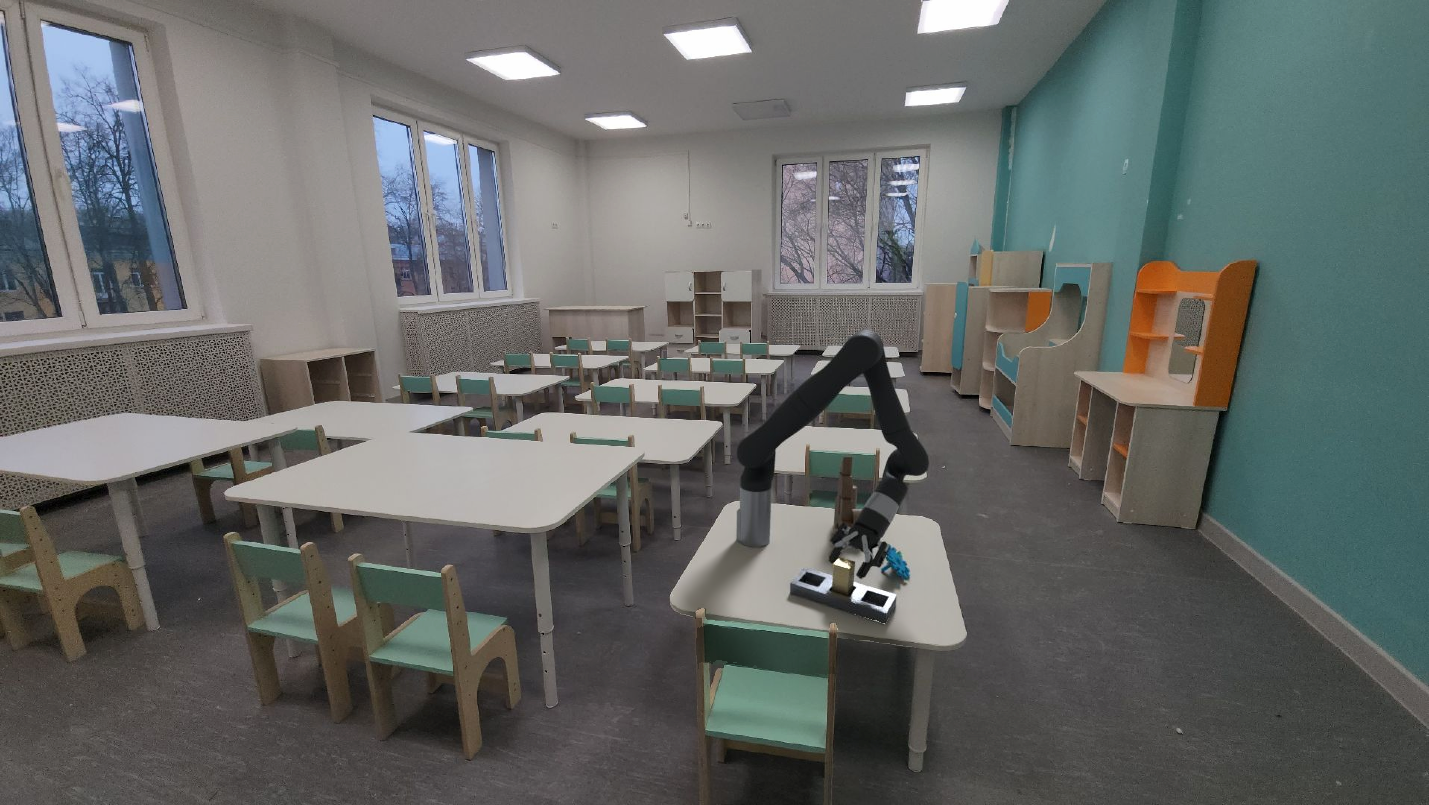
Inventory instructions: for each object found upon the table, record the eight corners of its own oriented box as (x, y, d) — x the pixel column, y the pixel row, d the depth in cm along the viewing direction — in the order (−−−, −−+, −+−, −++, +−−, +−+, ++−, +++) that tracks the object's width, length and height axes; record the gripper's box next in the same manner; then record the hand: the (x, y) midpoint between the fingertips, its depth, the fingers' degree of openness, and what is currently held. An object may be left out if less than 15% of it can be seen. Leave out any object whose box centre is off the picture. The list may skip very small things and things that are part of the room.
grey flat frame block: (789, 593, 145) (790, 582, 144) (804, 577, 152) (804, 567, 152) (885, 624, 133) (886, 613, 132) (895, 605, 140) (896, 594, 139)
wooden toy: (864, 545, 170) (870, 465, 164) (841, 544, 170) (846, 464, 165) (853, 522, 185) (858, 448, 179) (832, 521, 185) (837, 447, 180)
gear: (908, 581, 148) (883, 548, 150) (890, 593, 150) (865, 560, 152) (915, 568, 157) (892, 537, 160) (898, 578, 160) (875, 548, 162)
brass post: (831, 600, 142) (833, 563, 140) (837, 593, 145) (839, 557, 143) (846, 605, 140) (849, 568, 138) (852, 598, 143) (855, 561, 141)
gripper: (848, 498, 148) (816, 551, 144) (896, 517, 137) (862, 576, 133) (860, 512, 153) (829, 564, 149) (907, 531, 142) (874, 588, 138)
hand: (844, 569), depth 141 cm, fingers open, 8 cm apart
